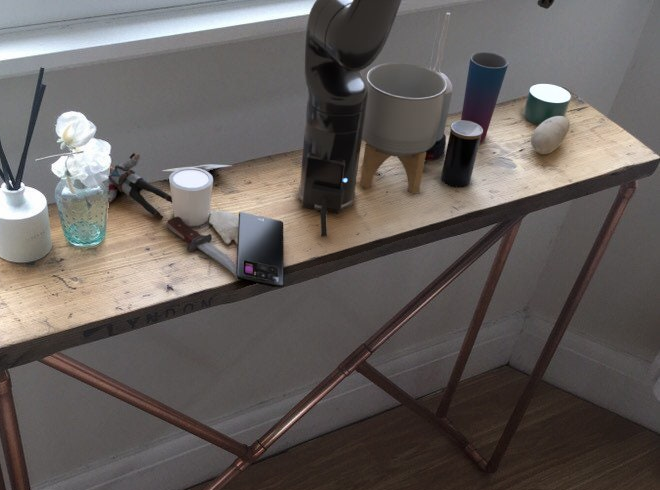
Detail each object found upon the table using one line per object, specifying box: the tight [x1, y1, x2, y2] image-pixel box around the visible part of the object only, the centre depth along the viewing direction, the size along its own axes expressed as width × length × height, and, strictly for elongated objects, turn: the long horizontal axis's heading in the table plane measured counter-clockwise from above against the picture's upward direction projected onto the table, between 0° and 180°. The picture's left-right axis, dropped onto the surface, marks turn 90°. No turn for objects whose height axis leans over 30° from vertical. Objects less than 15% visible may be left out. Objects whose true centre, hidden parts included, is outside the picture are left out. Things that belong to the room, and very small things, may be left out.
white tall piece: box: [425, 12, 453, 162], centre depth 154 cm, size 8×8×25 cm
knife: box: [167, 216, 237, 277], centre depth 135 cm, size 17×1×5 cm
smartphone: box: [235, 211, 285, 288], centre depth 135 cm, size 7×15×1 cm, turn 2°
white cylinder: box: [168, 167, 214, 227], centre depth 140 cm, size 7×7×7 cm
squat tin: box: [522, 83, 572, 126], centre depth 174 cm, size 8×8×5 cm
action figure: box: [107, 152, 172, 221], centre depth 142 cm, size 9×7×15 cm
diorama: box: [161, 163, 233, 172], centre depth 151 cm, size 8×12×2 cm
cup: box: [460, 51, 510, 143], centre depth 163 cm, size 7×7×15 cm
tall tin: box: [440, 120, 483, 189], centre depth 152 cm, size 5×5×10 cm
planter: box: [359, 62, 447, 196], centre depth 149 cm, size 13×13×18 cm
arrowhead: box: [208, 209, 239, 245], centre depth 140 cm, size 7×2×10 cm
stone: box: [530, 116, 571, 155], centre depth 165 cm, size 6×6×12 cm
